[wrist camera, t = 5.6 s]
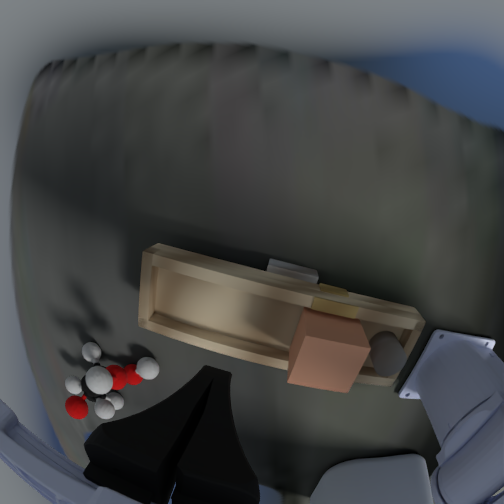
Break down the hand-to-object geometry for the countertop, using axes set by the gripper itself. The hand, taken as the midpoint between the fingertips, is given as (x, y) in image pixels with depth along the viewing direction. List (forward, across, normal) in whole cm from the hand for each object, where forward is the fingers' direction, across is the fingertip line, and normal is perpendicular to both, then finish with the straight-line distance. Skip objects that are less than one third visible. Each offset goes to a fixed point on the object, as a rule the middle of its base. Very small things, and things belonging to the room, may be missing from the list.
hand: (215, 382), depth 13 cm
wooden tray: (+10, -3, 0) cm, 10 cm away
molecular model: (+10, +12, +12) cm, 20 cm away
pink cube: (+7, -6, 0) cm, 9 cm away
